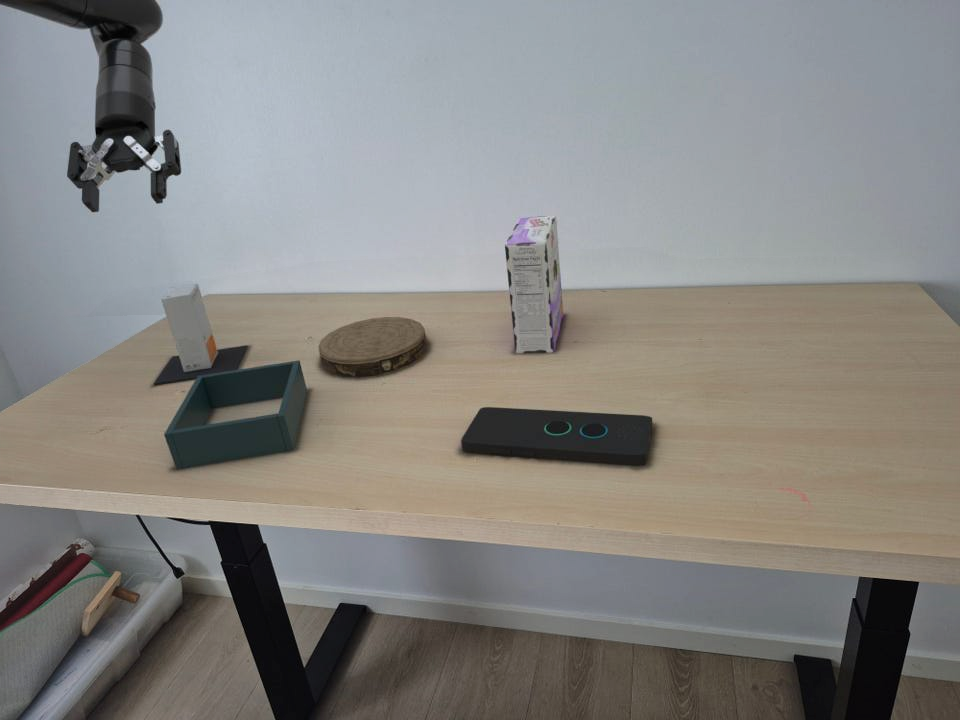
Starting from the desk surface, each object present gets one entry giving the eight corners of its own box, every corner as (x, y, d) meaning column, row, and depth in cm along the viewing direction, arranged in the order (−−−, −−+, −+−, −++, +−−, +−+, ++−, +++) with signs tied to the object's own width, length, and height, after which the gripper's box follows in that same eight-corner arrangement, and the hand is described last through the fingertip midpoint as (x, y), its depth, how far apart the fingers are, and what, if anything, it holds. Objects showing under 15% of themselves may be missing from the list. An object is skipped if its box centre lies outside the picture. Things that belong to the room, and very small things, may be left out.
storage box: (176, 471, 81) (163, 434, 79) (208, 408, 95) (197, 375, 93) (294, 452, 82) (284, 415, 80) (307, 392, 96) (299, 360, 94)
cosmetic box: (212, 368, 106) (189, 294, 101) (183, 373, 106) (159, 299, 101) (219, 353, 112) (198, 282, 106) (192, 357, 111) (169, 286, 106)
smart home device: (645, 455, 70) (458, 441, 76) (645, 469, 71) (460, 455, 77) (653, 413, 77) (481, 404, 83) (653, 427, 78) (483, 417, 84)
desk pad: (154, 387, 104) (153, 383, 104) (173, 359, 113) (172, 356, 113) (236, 374, 104) (234, 370, 104) (248, 348, 114) (247, 345, 113)
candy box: (527, 318, 111) (518, 216, 104) (564, 317, 110) (557, 213, 103) (514, 355, 99) (502, 242, 92) (555, 354, 98) (546, 240, 91)
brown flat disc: (310, 353, 108) (306, 336, 107) (404, 326, 114) (401, 309, 113) (340, 390, 95) (335, 371, 94) (444, 357, 101) (441, 338, 100)
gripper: (59, 96, 95) (54, 196, 89) (165, 82, 96) (166, 180, 90) (88, 132, 102) (85, 227, 96) (186, 119, 103) (189, 212, 97)
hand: (124, 204), depth 93 cm, fingers open, 8 cm apart
